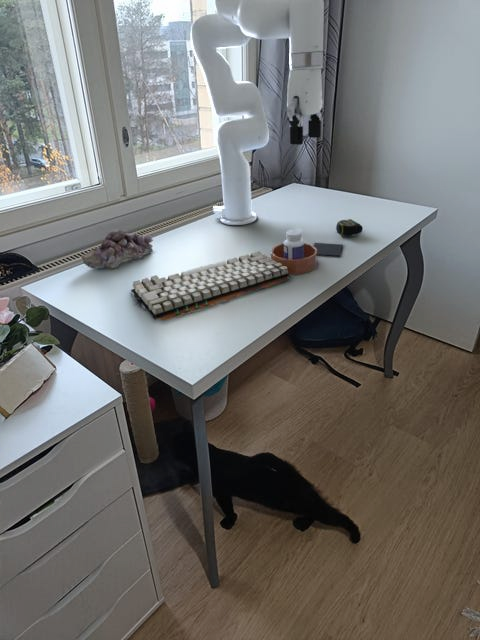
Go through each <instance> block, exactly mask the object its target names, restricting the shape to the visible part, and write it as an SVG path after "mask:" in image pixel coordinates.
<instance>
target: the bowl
mask: <svg viewBox="0 0 480 640" xmlns="http://www.w3.org/2000/svg"><path fill="white" fill-rule="evenodd" d="M270 259H272V261H273V260H274V261H276V262H277V263H281V264H282V266H286V267H287V270H288V273H287V274H289V275H301V274H302V275H303V274H306V273H309V272H311V271H313V270H315V269H316V267H317V263H318V255H317V249H316V248H315V247H314V244H309V243H306V242H304V258H303V259H297V260H293V259H284V242H282V243H279V244H277V245H275V246H273V247H272V249H271V250H270Z"/></svg>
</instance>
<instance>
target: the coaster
mask: <svg viewBox="0 0 480 640" xmlns="http://www.w3.org/2000/svg"><path fill="white" fill-rule="evenodd" d="M313 246H314V247H315V248H316V249H317V256H320V257H321V256H322V257H323V256H324V257H340V256H341V253H342V249H343V244H341V243H327V242H326V243H324V242H314V244H313Z"/></svg>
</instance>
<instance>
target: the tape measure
mask: <svg viewBox="0 0 480 640" xmlns="http://www.w3.org/2000/svg"><path fill="white" fill-rule="evenodd" d="M335 225H336V227H335V230H336V233H337V234H338V235H342V236H344V237H352V236H356V235H359V234H361V233H362V232H363V226H362V225H361V224H360V223H358V222H357V221H356V220H353V219H351V218H349V219H341V220H339V221H337V223H336V224H335Z"/></svg>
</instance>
